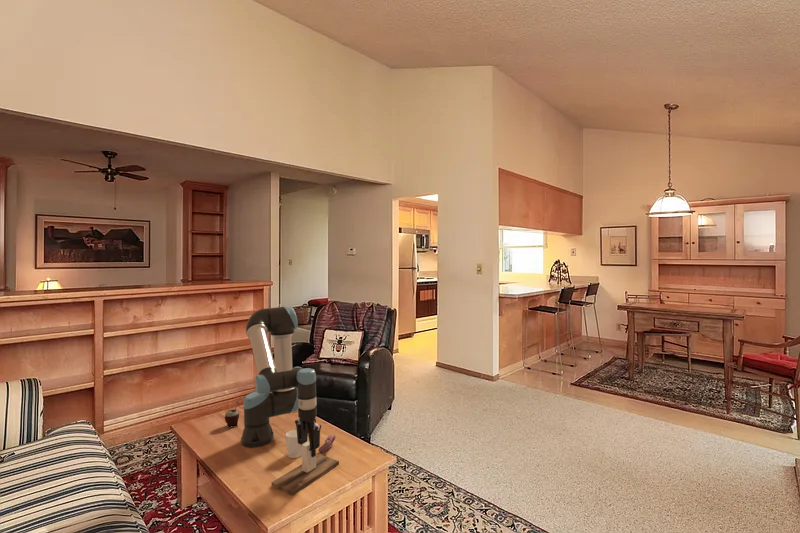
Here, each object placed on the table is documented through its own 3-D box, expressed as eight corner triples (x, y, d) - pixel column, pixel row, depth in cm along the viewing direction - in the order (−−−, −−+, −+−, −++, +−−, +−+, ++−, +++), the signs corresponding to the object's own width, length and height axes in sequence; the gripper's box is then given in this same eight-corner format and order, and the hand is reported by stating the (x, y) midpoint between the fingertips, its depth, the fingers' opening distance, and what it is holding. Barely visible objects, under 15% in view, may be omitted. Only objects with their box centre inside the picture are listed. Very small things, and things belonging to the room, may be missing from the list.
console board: (271, 486, 159) (271, 482, 159) (319, 457, 181) (318, 453, 181) (292, 495, 152) (292, 491, 152) (339, 464, 174) (338, 460, 174)
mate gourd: (222, 428, 213) (221, 400, 212) (231, 422, 221) (230, 395, 220) (234, 429, 211) (233, 401, 211) (243, 423, 219) (242, 395, 219)
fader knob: (302, 470, 166) (301, 444, 166) (311, 465, 170) (310, 439, 170) (307, 472, 165) (306, 446, 164) (316, 467, 169) (315, 441, 168)
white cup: (307, 451, 186) (306, 430, 185) (297, 460, 178) (297, 438, 178) (292, 449, 188) (292, 428, 188) (282, 457, 181) (282, 435, 181)
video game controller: (325, 457, 184) (331, 444, 183) (317, 452, 185) (323, 439, 184) (333, 446, 194) (338, 434, 193) (324, 441, 194) (330, 429, 193)
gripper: (287, 406, 168) (289, 461, 169) (314, 414, 159) (316, 472, 160) (300, 400, 174) (302, 453, 175) (327, 407, 165) (329, 463, 166)
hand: (309, 462), depth 167 cm, fingers closed on fader knob, 3 cm apart
